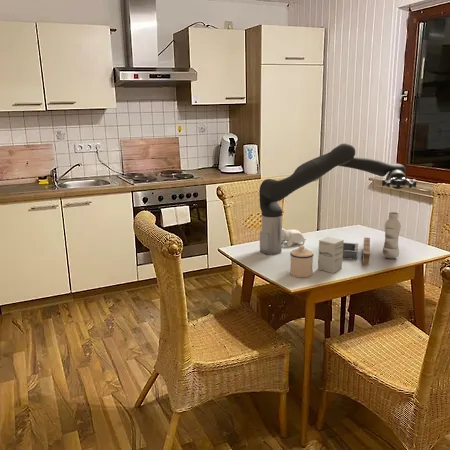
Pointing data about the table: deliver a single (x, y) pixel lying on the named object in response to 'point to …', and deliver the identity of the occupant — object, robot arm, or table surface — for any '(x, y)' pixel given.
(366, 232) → the table surface
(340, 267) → the supplement box
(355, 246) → the keeper
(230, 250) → the table surface
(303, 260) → the teacup with lid
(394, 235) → the silver bottle
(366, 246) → the wooden plank
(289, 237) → the white piece
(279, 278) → the table surface
